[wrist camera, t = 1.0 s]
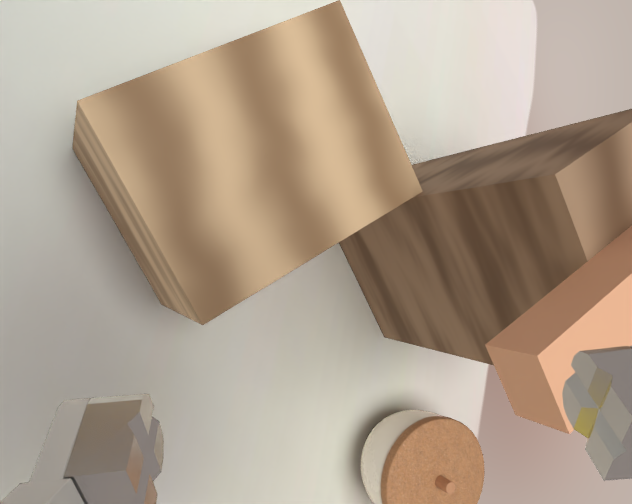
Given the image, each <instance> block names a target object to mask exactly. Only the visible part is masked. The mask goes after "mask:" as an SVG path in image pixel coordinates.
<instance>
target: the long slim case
mask: <svg viewBox="0 0 632 504" xmlns="http://www.w3.org/2000/svg"><path fill="white" fill-rule="evenodd" d="M485 346H486V348H487V351H488V353H489V355H490V357H491V360H492V362H493V364H494V366H495V369H496V371H497V373H498V375H499V378H500V380H501V382H502V385H503V387H504V389H505V392H506V394H507V396H508V399H509V401H510V403H511V406H512V408H513V410H514V412H515V415H517V416H520V417H523V418H525V419H528V420H531V421H534V422H537V423H539V424H543V425H545V426H548V427H551V428H554V429H557V430H559V431H562V432H565V433H568V434H570V433H571V432H572V431H573V430H574V429H573V427H572V425H571V423H570V421H569V420H568V418H567V415H566V412H565V410H564V407H563V397H562V392H563V388H564V384H565V381H566V380H567V379H568V378H569V377H571V376H572V375H573V374H574V373H575V371H574V369H573V368H572V366H571V363H572V360H573V358H574V355H576V354H577V353H578V352H579V351H584V350H593V349H603V348H612V347H621V346H632V226H631V227H629V228H628V229H627V230H626V231H624V232H623V233H622V234H621V235H619V236H618V237H617V238H616V239H615V240H613V241H612V242H611V243H610V244H608V245H607V246H606V247H605V248H604V249H602V250H601V251H600V252H599V253H597V254H596V255H595V256H594V257H592V258H591V259H590V260H589V261H588V262H586V263H585V264H584V265H583V266H581V267H580V268H579V269H578V270H576V271H575V272H574V273H573V274H572V275H570V276H569V277H568V278H567V279H565V280H564V281H563V282H562V283H560V284H559V285H558V286H557V287H556V288H554V289H553V290H552V291H551V292H549V293H548V294H547V295H546V296H544V297H543V298H542V299H541V300H540V301H538V302H537V303H536V304H535V305H533V306H532V307H531V308H530V309H528V310H527V311H526V312H525V313H524V314H522V315H521V316H520V317H519V318H517V319H516V320H515V321H514V322H513V323H511V324H510V325H509V326H508V327H506V328H505V329H504V330H503V331H501V332H500V333H499V334H498V335H497V336H495V337H494V338H493V339H492V340H490V341H489V342H488V343H487V344H485Z"/></svg>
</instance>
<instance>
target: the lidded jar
mask: <svg viewBox="0 0 632 504" xmlns="http://www.w3.org/2000/svg"><path fill="white" fill-rule="evenodd" d="M361 475H362V480H363V483H364V486H365V489H366V492H367V494H368V496H369V498H370V499H371V501H372V503H373V504H477V502H478V500H479V497H480V494H481V491H482V487H483V481H484V460H483V454H482V451H481V448H480V445H479V443H478V440H477V438H476V437H475V435H474V434H473V432H472V431H471V430H470V429H469V428H468V427H467V426H465V425H464V424H462V423H461V422H459V421H456V420H454V419H452V418H449V417H444V416H441V415H438V414H436V413H432V412H427V411H422V410H406V411H401V412H397V413H394V414H391V415H390V416H388V417H386V418H385V419H383V420H382V421H381V422H379V423H378V424H377V425H376V426H375V427H374V428H373V430H372V431H371V433H370V434H369V436H368V438H367V440H366V442H365V444H364V447H363V451H362V455H361Z"/></svg>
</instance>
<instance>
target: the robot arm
mask: <svg viewBox="0 0 632 504" xmlns="http://www.w3.org/2000/svg"><path fill="white" fill-rule="evenodd" d="M571 366H572V368H573V369H574V371H575V373H574V374H573V375H572V376H571V377H569V378H568V379H567V380H566V381H565V384H564V388H563V392H562V397H563V407H564V410H565V412H566V415H567V418H568V420H569V421H570V423H571V425H572V427H573V429H575V430H576V431H578V432H579V433H581V434H582V435H584V436H585V437H587V442H586V448H585V450H586V451H587V453H588V455H589V456H590V458H591V460H592V461H593V463H594V465H595V466H596V468H597V470H598V471H599V473H600V475H601V476H602V479H603V480H617V479H630V478H632V346H621V347H612V348H603V349H593V350H584V351H579V352H578V353H577V354H576V355H574V358H573V360H572V363H571ZM153 409H154V405H153V402H152V399H151V397H150V394H136V395H122V396H107V397H93V398H84V399H72V400H64V401H63V402H62V403H61V405H60V406H59V407H58V408H57V411H56V413H55V416H54V419H53V421H52V424H51V426H50V429H49V432H48V434H47V437H46V439H45V442H44V445H43V447H42V450H41V452H40V455H39V458H38V460H37V463H36V465H35V468H34V471H33V473H32V476H31V478H30V481H29V482H27V483H20V484H19V485H18V486H17V487H16V488H15V489H14V490H13V491H12V492H11V493H10V494H9V495H7V496H6V497H5V498H4V499H3V500H2V501H1V502H0V504H156V500H157V492H156V489H155V487H154V484H153V481H154V479H155V478H156V477H157V476H158V475H159V474H160V472H161V469H162V462H163V434H162V429H161V426H160V422H159V421H158V420H156V419H155V418H153V417H152V414H153Z"/></svg>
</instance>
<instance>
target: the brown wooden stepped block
mask: <svg viewBox="0 0 632 504" xmlns="http://www.w3.org/2000/svg"><path fill="white" fill-rule="evenodd" d="M72 149H73V150H74V152H75V154H76V156H77V157H78V159H79V161H80V163H81V164H82V166H83V168H84V170H85V171H86V173H87V175H88V177H89V178H90V180H91V182H92V184H93V185H94V187H95V189H96V191H97V192H98V194H99V196H100V198H101V199H102V201H103V203H104V204H105V206H106V208H107V210H108V211H109V213H110V215H111V217H112V218H113V220H114V222H115V224H116V225H117V227H118V229H119V231H120V232H121V234H122V236H123V238H124V239H125V241H126V243H127V245H128V246H129V248H130V250H131V252H132V253H133V255H134V257H135V259H136V260H137V262H138V264H139V266H140V267H141V269H142V271H143V273H144V274H145V276H146V278H147V280H148V281H149V283H150V285H151V287H152V288H153V290H154V292H155V294H156V295H157V297H158V299H159V301H160V302H161V304H162V305H164V306H166V307H168V308H170V309H172V310H174V311H176V312H178V313H180V314H182V315H184V316H186V317H188V318H190V319H192V320H194V321H196V322H198V323H200V324H202V325H204V324H205V323H207V322H209V321H210V320H212V319H214V318H215V317H217V316H219V315H220V314H222V313H224V312H225V311H227V310H228V309H230V308H232V307H233V306H235V305H237V304H238V303H240V302H242V301H243V300H245V299H247V298H248V297H250V296H251V295H253V294H255V293H256V292H258V291H260V290H261V289H263V288H265V287H266V286H268V285H270V284H271V283H273V282H274V281H276V280H278V279H279V278H281V277H283V276H284V275H286V274H288V273H289V272H291V271H293V270H294V269H296V268H298V267H299V266H301V265H302V264H304V263H306V262H307V261H309V260H311V259H312V258H314V257H316V256H317V255H319V254H321V253H322V252H324V251H325V250H327V249H329V248H330V247H332V246H334V245H335V244H337V243H339V244H340V246H341V248H342V250H343V252H344V254H345V256H346V258H347V260H348V262H349V264H350V266H351V268H352V271H353V273H354V275H355V277H356V279H357V281H358V283H359V285H360V287H361V289H362V291H363V293H364V296H365V298H366V300H367V302H368V304H369V306H370V308H371V310H372V312H373V314H374V316H375V318H376V321H377V323H378V325H379V327H380V329H381V331H382V333H383V335H384V337H386V338H390V339H394V340H397V341H401V342H405V343H409V344H413V345H417V346H421V347H425V348H429V349H433V350H436V351H440V352H444V353H448V354H452V355H456V356H460V357H464V358H468V359H472V360H476V361H479V362H483V363H487V364H491V365H494V364H493V362H492V360H491V357H490V355H489V353H488V351H487V348H486V346H485V344H487V343H488V342H489V341H490V340H492V339H493V338H494V337H495V336H497V335H498V334H499V333H500V332H501V331H503V330H504V329H505V328H506V327H508V326H509V325H510V324H511V323H513V322H514V321H515V320H516V319H517V318H519V317H520V316H521V315H522V314H524V313H525V312H526V311H527V310H528V309H530V308H531V307H532V306H533V305H535V304H536V303H537V302H538V301H540V300H541V299H542V298H543V297H544V296H546V295H547V294H548V293H549V292H551V291H552V290H553V289H554V288H556V287H557V286H558V285H559V284H560V283H562V282H563V281H564V280H565V279H567V278H568V277H569V276H570V275H572V274H573V273H574V272H575V271H576V270H578V269H579V268H580V267H581V266H583V265H584V264H585V263H586V262H588V261H589V260H590V259H591V258H592V257H594V256H595V255H596V254H597V253H599V252H600V251H601V250H602V249H604V248H605V247H606V246H607V245H608V244H610V243H611V242H612V241H613V240H615V239H616V238H617V237H618V236H619V235H621V234H622V233H623V232H624V231H626V230H627V229H628V228H629V227H631V226H632V109H629V110H625V111H622V112H618V113H614V114H610V115H606V116H602V117H598V118H594V119H590V120H586V121H582V122H578V123H574V124H570V125H567V126H563V127H559V128H555V129H551V130H547V131H543V132H539V133H535V134H531V135H527V136H523V137H519V138H516V139H512V140H508V141H504V142H500V143H496V144H492V145H488V146H484V147H480V148H476V149H472V150H468V151H465V152H461V153H457V154H453V155H449V156H445V157H441V158H437V159H433V160H429V161H425V162H421V163H418V164H414V165H411V163H410V161H409V158H408V156H407V154H406V151H405V149H404V147H403V145H402V142H401V140H400V138H399V135H398V133H397V131H396V128H395V126H394V124H393V122H392V119H391V117H390V115H389V112H388V110H387V108H386V105H385V103H384V101H383V99H382V96H381V94H380V92H379V89H378V87H377V85H376V82H375V80H374V78H373V75H372V73H371V71H370V69H369V66H368V64H367V62H366V59H365V57H364V55H363V52H362V50H361V48H360V46H359V43H358V41H357V39H356V36H355V34H354V32H353V29H352V27H351V25H350V23H349V20H348V18H347V16H346V13H345V11H344V9H343V6H342V4H341V2H340V0H339V1H336V2H333V3H331V4H328V5H326V6H323V7H320V8H318V9H315V10H313V11H310V12H307V13H305V14H302V15H300V16H297V17H294V18H292V19H289V20H287V21H284V22H281V23H279V24H276V25H274V26H271V27H268V28H266V29H263V30H261V31H258V32H255V33H253V34H250V35H248V36H245V37H242V38H240V39H237V40H234V41H232V42H229V43H227V44H224V45H221V46H219V47H216V48H214V49H211V50H208V51H206V52H203V53H201V54H198V55H195V56H193V57H190V58H188V59H185V60H182V61H180V62H177V63H175V64H172V65H169V66H167V67H164V68H162V69H159V70H156V71H154V72H151V73H149V74H146V75H143V76H141V77H138V78H135V79H133V80H130V81H128V82H125V83H122V84H120V85H117V86H115V87H112V88H109V89H107V90H104V91H102V92H99V93H96V94H94V95H91V96H89V97H86V98H83V99H81V100H78V101H77V108H76V118H75V127H74V137H73V147H72Z"/></svg>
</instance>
